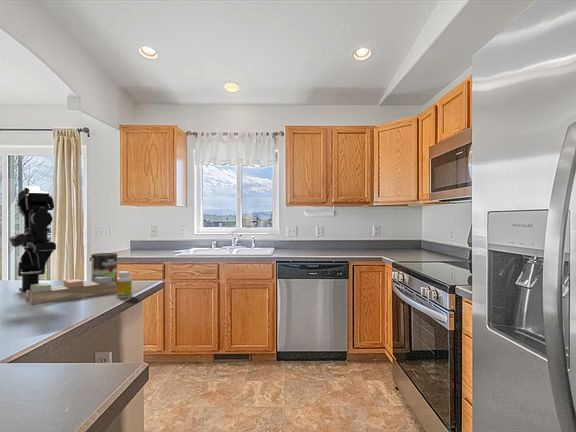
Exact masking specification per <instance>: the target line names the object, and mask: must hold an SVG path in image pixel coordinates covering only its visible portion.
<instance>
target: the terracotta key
mask: <svg viewBox="0 0 576 432" xmlns="http://www.w3.org/2000/svg"><path fill="white" fill-rule="evenodd" d="M83 283H84V280H82V279H79V278H76V279H67V280H64V283H63V284H64V286H65V287H67V288H73V287H80V286H83Z"/></svg>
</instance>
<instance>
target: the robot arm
mask: <svg viewBox="0 0 576 432" xmlns="http://www.w3.org/2000/svg"><path fill="white" fill-rule="evenodd" d="M23 188H24V189H23V190H21V191H20V192H19V193H18V194H17V198H16V199H17V200H16V203H17V204H16V205H17V207H18V210H19V213H20V214H21V215H22V216H23V228H24V233H23V232H22V233H19V234H16V235H13V236H11V237H9V238H8V240H9V242H10V245H11V246H12V247H14V248H16V247H22V248H23V250H24V252H23V253H22V255H21V257H20V259H19V261H18V266H17V277H21V287H19V289H18V290H20V291H21V292H25V293H26V290H31V285H33V284H40V275H45V274H46V271H45V270H46V264H47V262H48V260H49V259H50V258H51V255H52V253H54V251H55V250H57V243H55V242H54V241H50V239H49V238H48V237H49V236H48V232H50V228H49V226H50V225H51V224H52V222H53V215H52V214H51V213H50V212H49V211H53V210H54V209H55V203H54V198H53V197H52V195H51V194H50V192H48V191H42V190H41V187H39V186H34V185H33V186H32V185H27V186H24V187H23Z"/></svg>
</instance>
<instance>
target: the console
mask: <svg viewBox="0 0 576 432" xmlns="http://www.w3.org/2000/svg"><path fill="white" fill-rule="evenodd" d="M116 286H117V285H116V282H114V281H112V282H109V283H102V284H98V283H95V282H91V281H87V282H83V286H80V287H73V288H67V287H65V286H64V285H56V286H51V291H43V292H36V293H34V292H32V291H31V290H26V291H25V302H26V301H27V302H26V303H28V304H30V305H31V306H32V305H40V304H46V303H52V302H57V301H66V300H71V299H77V298H83V297H84V298H85V297H90V295H91V296H98V295H102V294H110V293H115V292H116ZM97 294H98V295H97Z"/></svg>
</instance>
